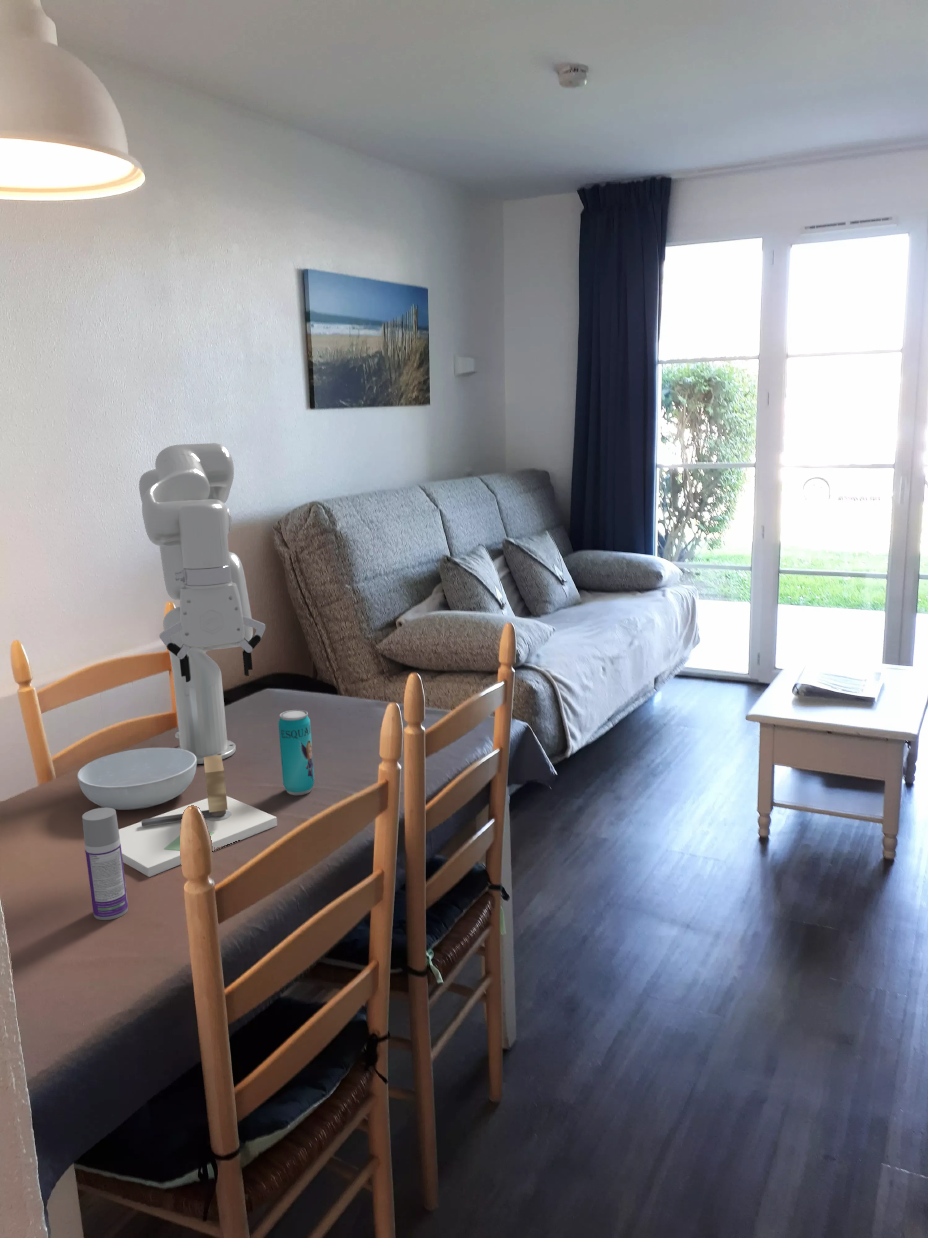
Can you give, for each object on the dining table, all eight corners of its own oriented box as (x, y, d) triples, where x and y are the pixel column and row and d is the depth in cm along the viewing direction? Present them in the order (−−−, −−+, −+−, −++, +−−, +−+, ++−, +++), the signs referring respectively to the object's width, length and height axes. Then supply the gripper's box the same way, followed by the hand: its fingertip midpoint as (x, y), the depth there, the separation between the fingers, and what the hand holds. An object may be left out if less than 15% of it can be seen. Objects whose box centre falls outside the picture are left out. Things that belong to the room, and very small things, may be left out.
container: (99, 905, 140) (86, 808, 137) (132, 902, 140) (120, 806, 137) (89, 921, 135) (76, 822, 132) (123, 919, 136) (111, 819, 132)
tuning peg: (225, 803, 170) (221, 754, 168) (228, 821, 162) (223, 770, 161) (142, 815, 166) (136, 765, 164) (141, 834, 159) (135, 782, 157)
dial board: (96, 846, 159) (95, 837, 159) (221, 801, 176) (220, 792, 176) (150, 878, 147) (149, 868, 147) (279, 826, 164) (278, 817, 164)
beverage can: (308, 797, 176) (302, 719, 173) (279, 796, 177) (272, 718, 174) (319, 785, 182) (313, 709, 179) (290, 784, 183) (284, 708, 180)
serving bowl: (223, 790, 182) (220, 755, 180) (135, 832, 164) (131, 794, 163) (146, 772, 192) (143, 739, 191) (56, 811, 175) (51, 775, 173)
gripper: (152, 584, 155) (163, 687, 158) (261, 575, 159) (270, 677, 162) (155, 578, 162) (166, 677, 165) (260, 570, 166) (268, 667, 169)
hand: (217, 677), depth 163 cm, fingers open, 9 cm apart
